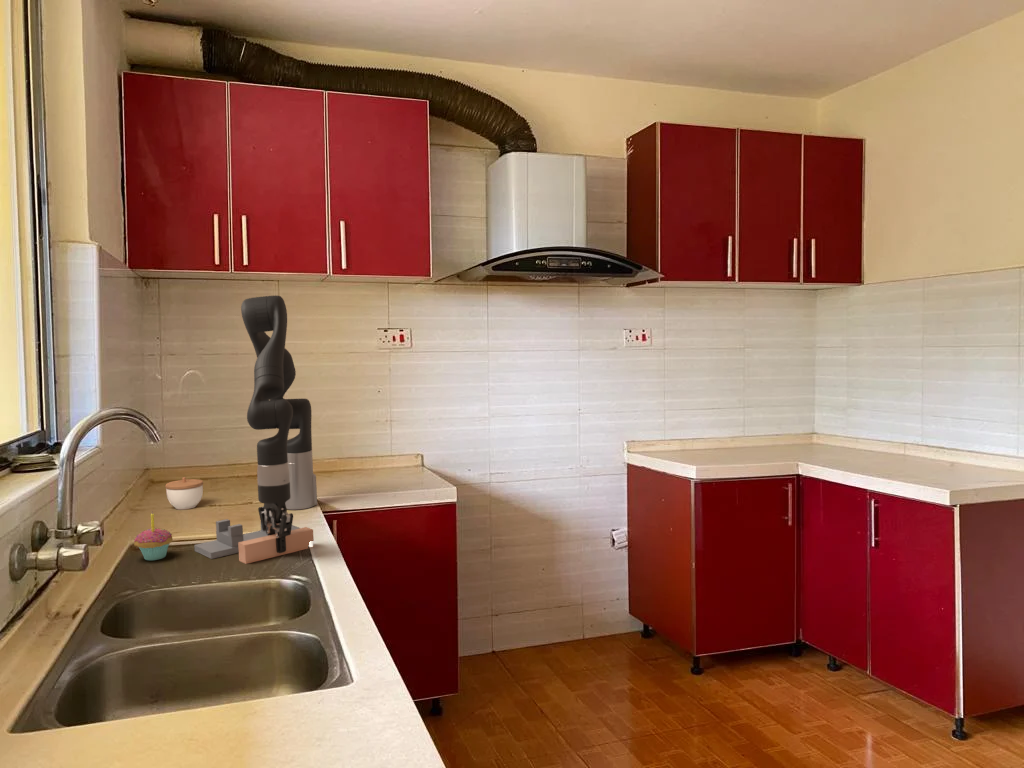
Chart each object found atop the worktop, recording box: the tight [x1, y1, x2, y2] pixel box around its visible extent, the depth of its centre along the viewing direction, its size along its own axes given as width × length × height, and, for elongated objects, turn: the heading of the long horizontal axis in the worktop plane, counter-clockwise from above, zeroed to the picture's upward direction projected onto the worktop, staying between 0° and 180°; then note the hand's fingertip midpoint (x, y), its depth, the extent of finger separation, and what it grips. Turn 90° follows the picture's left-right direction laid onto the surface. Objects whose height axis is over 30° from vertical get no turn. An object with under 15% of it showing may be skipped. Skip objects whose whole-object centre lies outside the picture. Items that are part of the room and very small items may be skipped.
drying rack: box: [193, 518, 301, 560], centre depth 200 cm, size 26×10×6 cm, turn 134°
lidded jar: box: [165, 476, 204, 511], centre depth 241 cm, size 11×11×9 cm
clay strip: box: [238, 526, 315, 565], centre depth 191 cm, size 18×4×4 cm, turn 134°
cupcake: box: [133, 511, 173, 561], centre depth 190 cm, size 9×8×12 cm
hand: (277, 550), depth 191 cm, fingers closed on clay strip, 3 cm apart
